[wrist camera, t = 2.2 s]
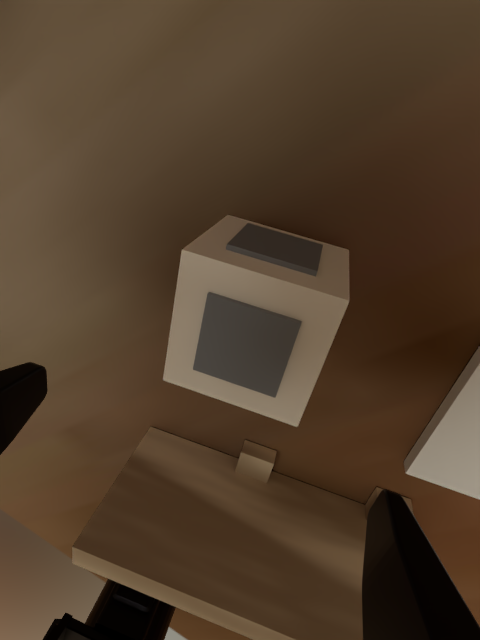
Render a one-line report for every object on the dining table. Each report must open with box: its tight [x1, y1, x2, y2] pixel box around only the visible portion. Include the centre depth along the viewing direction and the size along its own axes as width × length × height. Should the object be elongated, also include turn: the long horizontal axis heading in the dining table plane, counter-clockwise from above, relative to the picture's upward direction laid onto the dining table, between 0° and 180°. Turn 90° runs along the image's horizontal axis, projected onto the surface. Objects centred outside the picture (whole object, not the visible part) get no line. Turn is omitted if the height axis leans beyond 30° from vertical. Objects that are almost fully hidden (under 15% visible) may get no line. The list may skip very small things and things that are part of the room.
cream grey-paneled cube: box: [163, 215, 350, 427], centre depth 15 cm, size 6×6×6 cm
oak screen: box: [72, 427, 413, 640], centre depth 20 cm, size 5×16×8 cm, turn 77°
